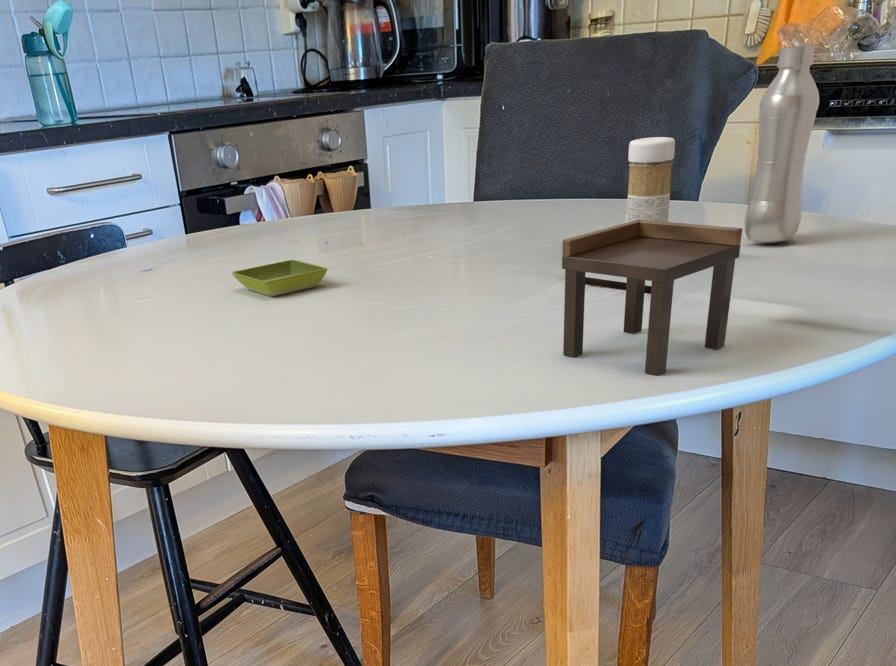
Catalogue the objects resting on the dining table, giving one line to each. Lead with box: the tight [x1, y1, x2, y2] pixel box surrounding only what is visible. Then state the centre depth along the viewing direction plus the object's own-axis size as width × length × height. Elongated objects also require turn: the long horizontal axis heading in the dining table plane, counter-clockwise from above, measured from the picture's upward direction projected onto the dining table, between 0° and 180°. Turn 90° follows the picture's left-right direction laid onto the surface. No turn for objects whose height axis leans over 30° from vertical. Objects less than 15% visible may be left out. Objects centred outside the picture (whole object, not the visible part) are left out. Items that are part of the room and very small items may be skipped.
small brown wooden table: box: [561, 220, 743, 376], centre depth 72 cm, size 10×10×9 cm
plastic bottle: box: [744, 44, 820, 245], centre depth 101 cm, size 6×7×20 cm
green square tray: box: [231, 259, 328, 297], centre depth 104 cm, size 9×9×2 cm
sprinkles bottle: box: [625, 136, 676, 223], centre depth 92 cm, size 5×5×13 cm
